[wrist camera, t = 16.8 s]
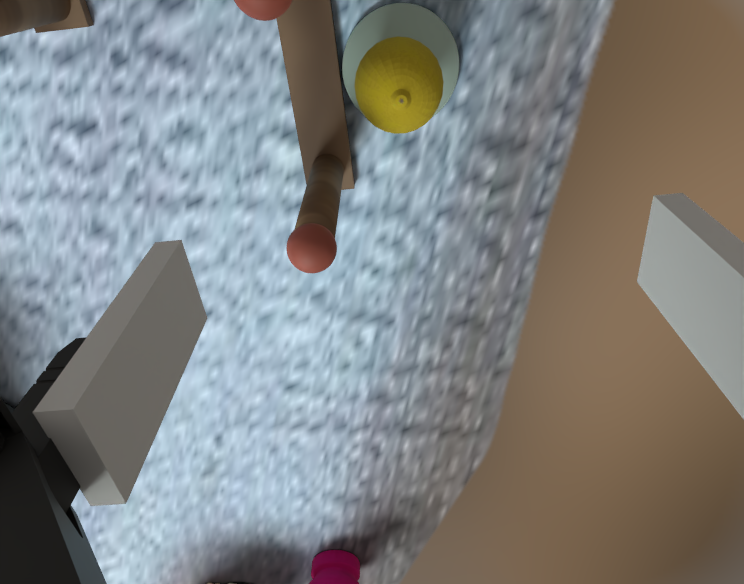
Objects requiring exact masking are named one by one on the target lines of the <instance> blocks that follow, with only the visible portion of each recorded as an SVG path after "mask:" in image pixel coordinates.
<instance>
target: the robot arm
mask: <svg viewBox="0 0 744 584" xmlns="http://www.w3.org/2000/svg"><path fill="white" fill-rule="evenodd" d="M637 282H638V284H639V285H640V286H641V287H642V289H643V290H644V291H645V293H646V294H647V295H648V296H649V298H650V299H651V300H652V302H653V303H654V304H655V305H656V306H657V308H658V309H659V311H660V312H661V313H662V314H663V316H664V317H665V318H666V320H667V321H668V322H669V323H670V325H671V326H672V327H673V329H674V330H675V331H676V332H677V334H678V335H679V336H680V338H681V339H682V340H683V342H684V343H685V344H686V345H687V347H688V348H689V349H690V351H691V352H692V353H693V355H694V356H695V357H696V358H697V360H698V361H699V362H700V364H701V365H702V366H703V367H704V369H705V370H706V371H707V373H708V374H709V375H710V376H711V377H712V379H713V380H714V382H715V383H716V384H717V385H718V387H719V388H720V389H721V391H722V392H723V393H724V395H725V396H726V397H727V398H728V400H729V401H730V402H731V404H732V405H733V406H734V407H735V409H736V410H737V411H738V413H739V414H740V415H741V416H742V418H743V419H744V243H743V242H742V241H741V240H740V239H738V238H737V237H736V236H735V235H733V234H732V233H731V232H730V231H729V230H727V229H726V228H725V227H724V226H723V225H721V224H720V223H719V222H718V221H716V220H715V219H714V218H713V217H711V216H710V215H709V214H708V213H707V212H705V211H704V210H703V209H702V208H700V207H699V206H698V205H697V204H696V203H694V202H693V201H692V200H691V199H689V198H688V197H687V196H686V195H684V194H683V193H677V194H666V195H657V196H653V201H652V207H651V212H650V217H649V222H648V227H647V232H646V238H645V243H644V248H643V253H642V258H641V264H640V269H639V274H638V280H637ZM206 320H207V316H206V313H205V310H204V307H203V304H202V301H201V298H200V295H199V292H198V289H197V286H196V283H195V280H194V277H193V274H192V271H191V268H190V265H189V262H188V259H187V256H186V253H185V249H184V246H183V243H182V240H176V241H165V242H155V243H154V245H153V246H152V248H151V249H150V250H149V252H148V253H147V255H146V256H145V257H144V259H143V260H142V261H141V263H140V264H139V266H138V267H137V268H136V270H135V271H134V273H133V274H132V275H131V277H130V278H129V279H128V281H127V282H126V284H125V285H124V286H123V288H122V289H121V291H120V292H119V293H118V295H117V296H116V297H115V299H114V300H113V302H112V303H111V304H110V306H109V307H108V309H107V310H106V311H105V313H104V314H103V316H102V317H101V318H100V320H99V321H98V322H97V324H96V325H95V327H94V328H93V329H92V331H91V332H90V334H89V335H88V336H87V338H76V339H75V340H74V341H72V342H71V343H70V344H69V345H67V346H66V347H65V348H63V349H62V350H61V351H59V352H58V353H57V354H56V356H55V357H54V358H53V360H52V361H51V362H50V364H49V365H48V366H47V367H46V371H43V373H42V374H41V375H40V377H39V378H38V379H37V381H36V382H37V383H36V384H33V386H32V387H31V388H30V390H29V391H28V392H27V394H26V395H25V396H24V398H23V399H22V400H21V401H20V403H19V404H18V405H17V407H16V408H15V409H14V408H12V407H11V406H9V405H7V404H5V403H4V402H3V400H2V399H1V398H0V584H106V581H105V579H104V577H103V574H102V572H101V570H100V567H99V565H98V563H97V560H96V558H95V556H94V553H93V551H92V549H91V546H90V544H89V542H88V539H87V537H86V535H85V532H84V530H83V528H82V525H81V523H80V520H79V518H78V516H77V514H76V512H75V511H74V509H73V508H72V506H71V503H72V501H73V500H74V498H75V496H76V494H77V492H78V490H79V488H80V490H81V491H82V493H83V494H84V496H85V498H86V499H87V501H88V502H89V504H90V506H98V505H113V504H126V502H127V500H128V498H129V496H130V493H131V491H132V489H133V487H134V484H135V482H136V480H137V477H138V475H139V473H140V471H141V468H142V466H143V464H144V461H145V459H146V457H147V455H148V452H149V450H150V448H151V445H152V443H153V441H154V439H155V436H156V434H157V432H158V430H159V427H160V425H161V423H162V420H163V418H164V416H165V414H166V411H167V409H168V407H169V404H170V402H171V400H172V398H173V395H174V393H175V391H176V388H177V386H178V384H179V382H180V379H181V377H182V375H183V373H184V370H185V368H186V366H187V363H188V361H189V359H190V357H191V354H192V352H193V350H194V347H195V345H196V343H197V341H198V338H199V336H200V334H201V331H202V329H203V327H204V325H205V322H206Z"/></svg>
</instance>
